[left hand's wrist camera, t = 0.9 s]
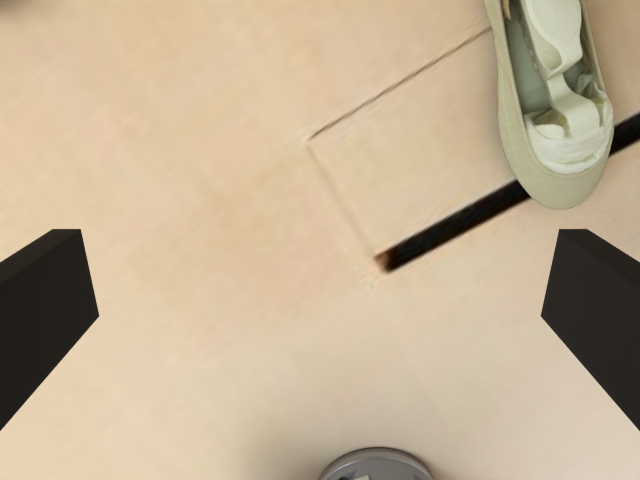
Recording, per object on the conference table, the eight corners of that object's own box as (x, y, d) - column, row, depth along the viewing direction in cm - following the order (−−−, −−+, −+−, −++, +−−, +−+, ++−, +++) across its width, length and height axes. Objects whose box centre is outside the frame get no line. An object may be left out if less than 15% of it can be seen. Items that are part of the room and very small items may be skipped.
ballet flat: (520, 220, 43) (560, 255, 36) (436, -48, 35) (467, -74, 28) (607, 185, 42) (668, 214, 35) (542, -103, 34) (605, -146, 26)
